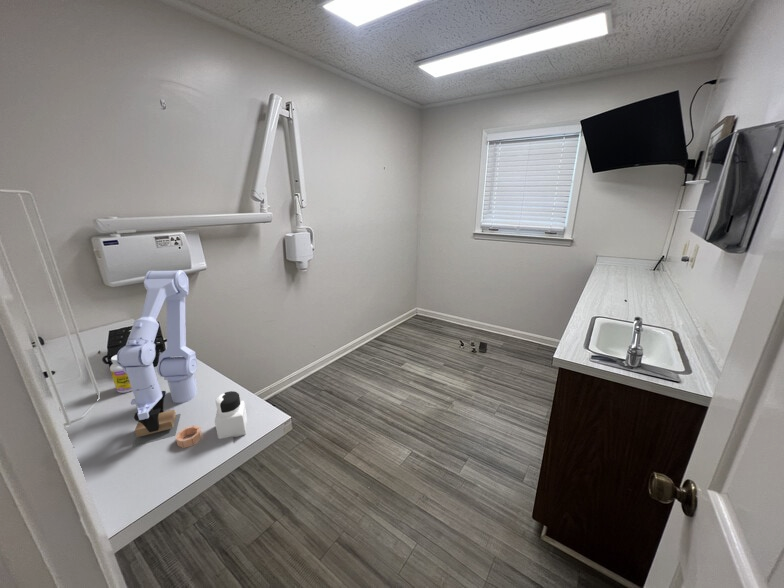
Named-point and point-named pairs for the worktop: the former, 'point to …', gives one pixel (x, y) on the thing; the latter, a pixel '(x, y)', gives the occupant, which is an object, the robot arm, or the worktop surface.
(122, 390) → the supplement bottle
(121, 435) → the worktop surface
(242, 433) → the medicine bottle
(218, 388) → the worktop surface
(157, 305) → the robot arm
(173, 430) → the mat
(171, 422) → the tan cardboard box
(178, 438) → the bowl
